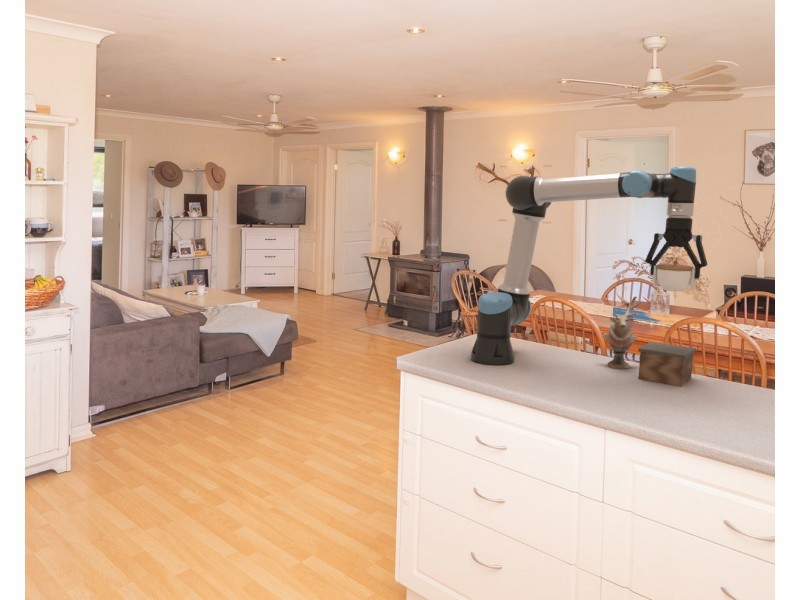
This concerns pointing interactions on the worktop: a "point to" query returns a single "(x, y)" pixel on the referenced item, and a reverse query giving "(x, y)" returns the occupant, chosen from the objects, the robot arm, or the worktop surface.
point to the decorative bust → (621, 336)
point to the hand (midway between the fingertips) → (673, 287)
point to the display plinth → (666, 363)
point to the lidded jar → (674, 276)
